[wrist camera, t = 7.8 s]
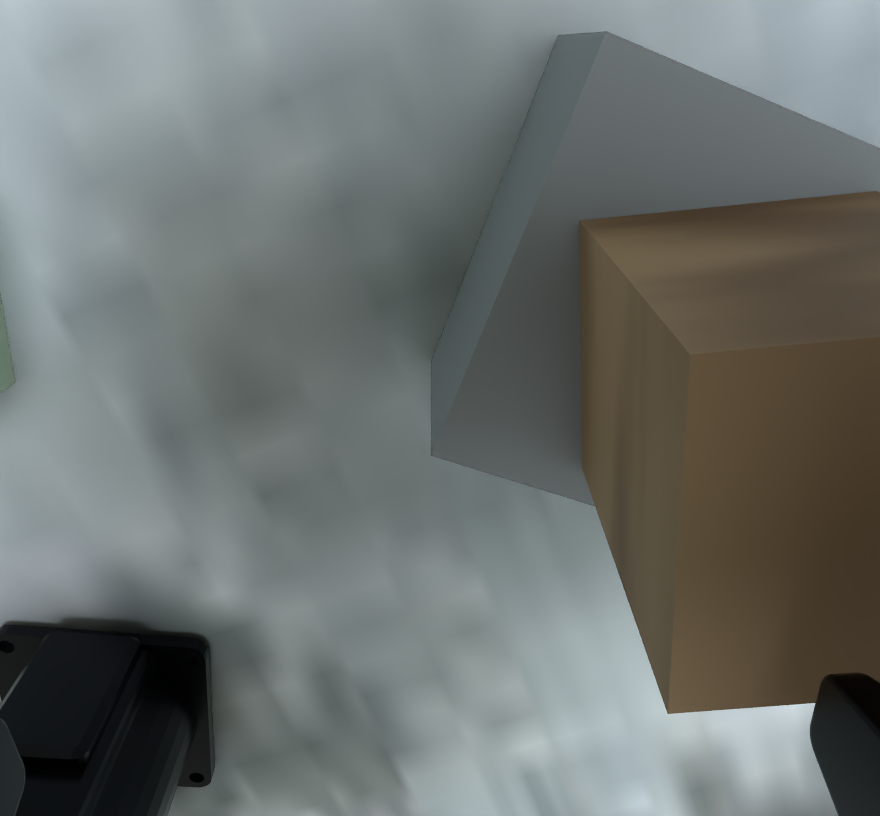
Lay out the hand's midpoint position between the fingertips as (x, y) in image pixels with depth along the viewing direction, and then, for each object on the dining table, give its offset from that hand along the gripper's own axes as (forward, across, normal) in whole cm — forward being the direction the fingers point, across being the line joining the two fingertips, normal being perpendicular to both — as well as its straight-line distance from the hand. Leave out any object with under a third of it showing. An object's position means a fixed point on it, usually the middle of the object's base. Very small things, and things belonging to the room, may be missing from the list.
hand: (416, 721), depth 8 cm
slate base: (+12, -6, -2) cm, 13 cm away
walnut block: (+7, -6, -2) cm, 9 cm away
